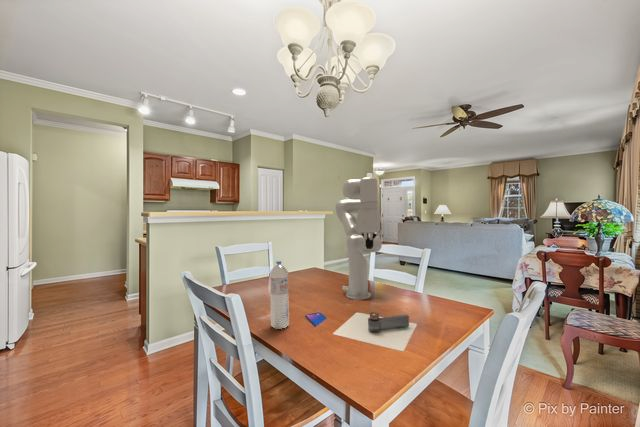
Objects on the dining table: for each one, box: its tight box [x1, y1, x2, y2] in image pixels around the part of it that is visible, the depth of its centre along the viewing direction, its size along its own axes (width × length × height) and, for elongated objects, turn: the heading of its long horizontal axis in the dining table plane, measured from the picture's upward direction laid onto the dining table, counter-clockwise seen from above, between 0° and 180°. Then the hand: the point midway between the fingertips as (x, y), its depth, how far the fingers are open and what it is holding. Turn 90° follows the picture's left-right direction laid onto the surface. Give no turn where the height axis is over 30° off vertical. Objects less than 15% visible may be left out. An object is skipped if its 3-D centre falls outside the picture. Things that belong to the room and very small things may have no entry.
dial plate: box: [332, 312, 418, 352], centre depth 96 cm, size 24×22×2 cm
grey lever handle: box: [368, 311, 410, 333], centre depth 96 cm, size 15×4×6 cm, turn 104°
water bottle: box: [269, 260, 290, 330], centre depth 103 cm, size 7×7×25 cm
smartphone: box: [304, 312, 327, 328], centre depth 107 cm, size 7×1×15 cm
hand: (369, 248), depth 117 cm, fingers closed
